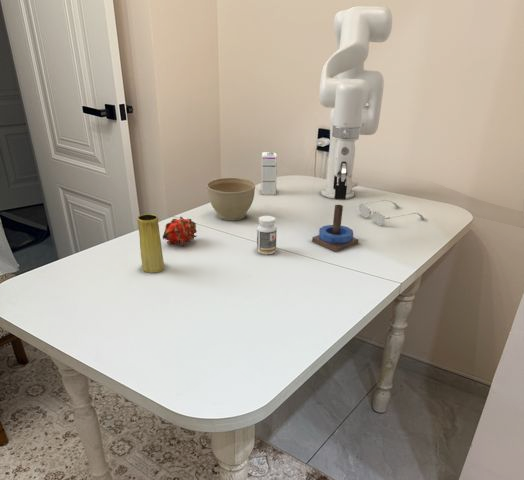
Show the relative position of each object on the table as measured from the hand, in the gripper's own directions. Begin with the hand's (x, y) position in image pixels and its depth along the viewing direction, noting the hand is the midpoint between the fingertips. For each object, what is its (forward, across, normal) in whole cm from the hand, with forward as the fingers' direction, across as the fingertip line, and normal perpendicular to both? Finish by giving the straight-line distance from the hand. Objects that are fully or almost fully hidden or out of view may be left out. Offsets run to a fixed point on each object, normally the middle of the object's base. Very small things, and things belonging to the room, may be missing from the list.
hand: (339, 194), depth 148 cm
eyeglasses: (+14, +22, -20) cm, 33 cm away
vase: (+14, -29, +50) cm, 60 cm away
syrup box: (+14, +44, +24) cm, 52 cm away
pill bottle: (+14, -13, +20) cm, 28 cm away
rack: (+14, -4, 0) cm, 14 cm away
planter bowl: (+14, +15, +35) cm, 40 cm away
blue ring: (+12, -3, 0) cm, 13 cm away
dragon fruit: (+14, -11, +47) cm, 50 cm away
